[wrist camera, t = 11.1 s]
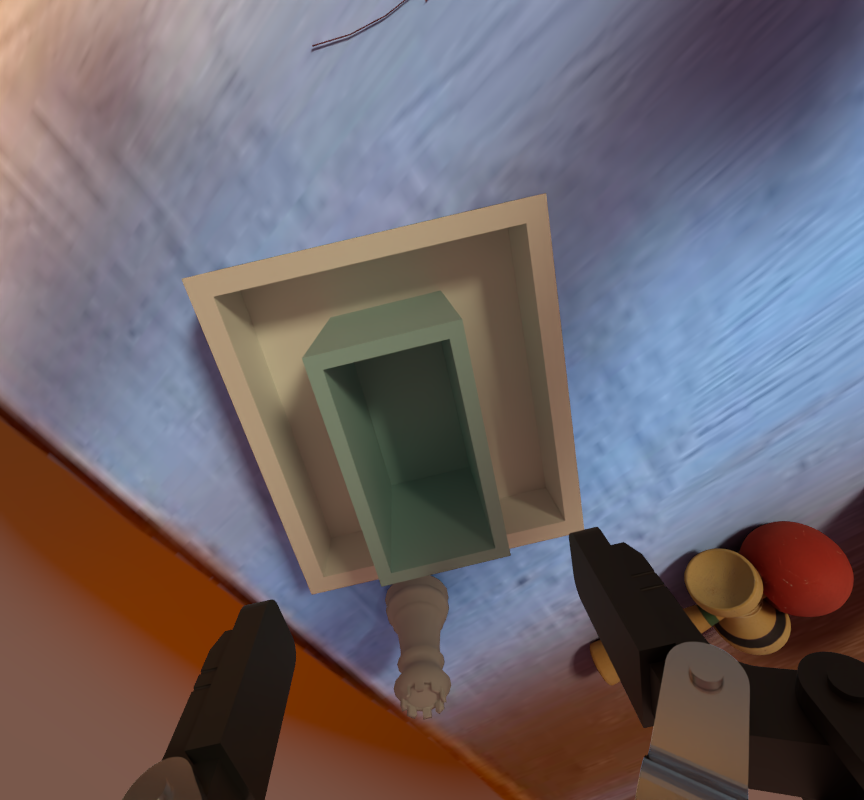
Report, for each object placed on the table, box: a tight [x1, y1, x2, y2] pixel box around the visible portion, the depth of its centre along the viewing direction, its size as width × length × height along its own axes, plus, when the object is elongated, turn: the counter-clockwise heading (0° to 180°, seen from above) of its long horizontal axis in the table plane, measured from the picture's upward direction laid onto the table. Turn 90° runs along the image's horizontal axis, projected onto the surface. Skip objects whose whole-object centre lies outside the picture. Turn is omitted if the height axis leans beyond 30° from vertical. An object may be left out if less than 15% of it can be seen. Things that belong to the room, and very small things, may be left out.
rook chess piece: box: [385, 575, 451, 719], centre depth 29 cm, size 4×4×8 cm
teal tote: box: [302, 290, 511, 586], centre depth 22 cm, size 11×6×8 cm, turn 13°
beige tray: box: [182, 193, 584, 594], centre depth 25 cm, size 18×16×4 cm
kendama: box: [590, 521, 854, 685], centre depth 32 cm, size 8×6×18 cm
